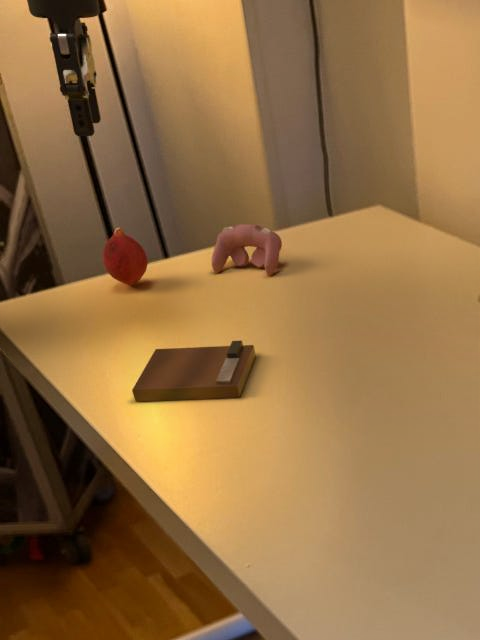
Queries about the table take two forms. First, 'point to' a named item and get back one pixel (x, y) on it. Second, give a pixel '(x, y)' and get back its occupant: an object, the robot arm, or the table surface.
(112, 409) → the table surface
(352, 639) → the table surface
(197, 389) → the cutting board
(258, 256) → the video game controller
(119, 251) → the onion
